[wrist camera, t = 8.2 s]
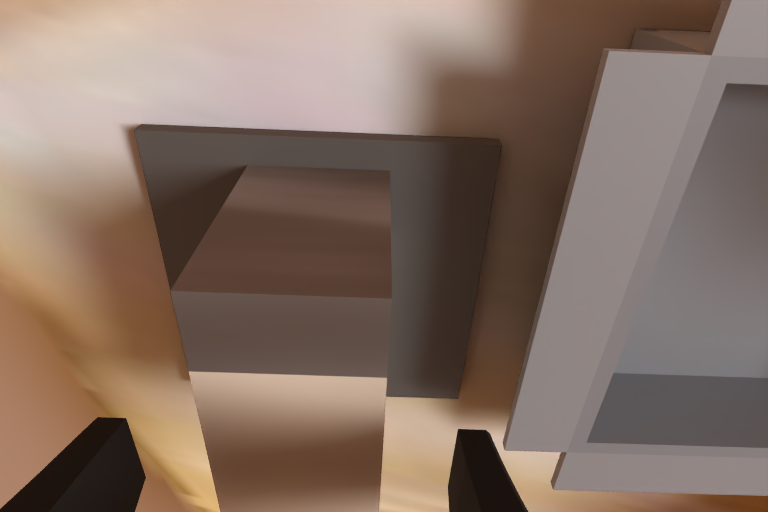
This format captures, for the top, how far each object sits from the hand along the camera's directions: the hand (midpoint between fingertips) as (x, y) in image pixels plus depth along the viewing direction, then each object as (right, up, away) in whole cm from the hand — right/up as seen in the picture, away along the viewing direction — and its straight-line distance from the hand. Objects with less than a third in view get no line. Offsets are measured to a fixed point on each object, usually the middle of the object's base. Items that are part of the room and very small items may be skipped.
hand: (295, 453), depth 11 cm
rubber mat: (0, +4, +6) cm, 7 cm away
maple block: (0, +3, +5) cm, 6 cm away
